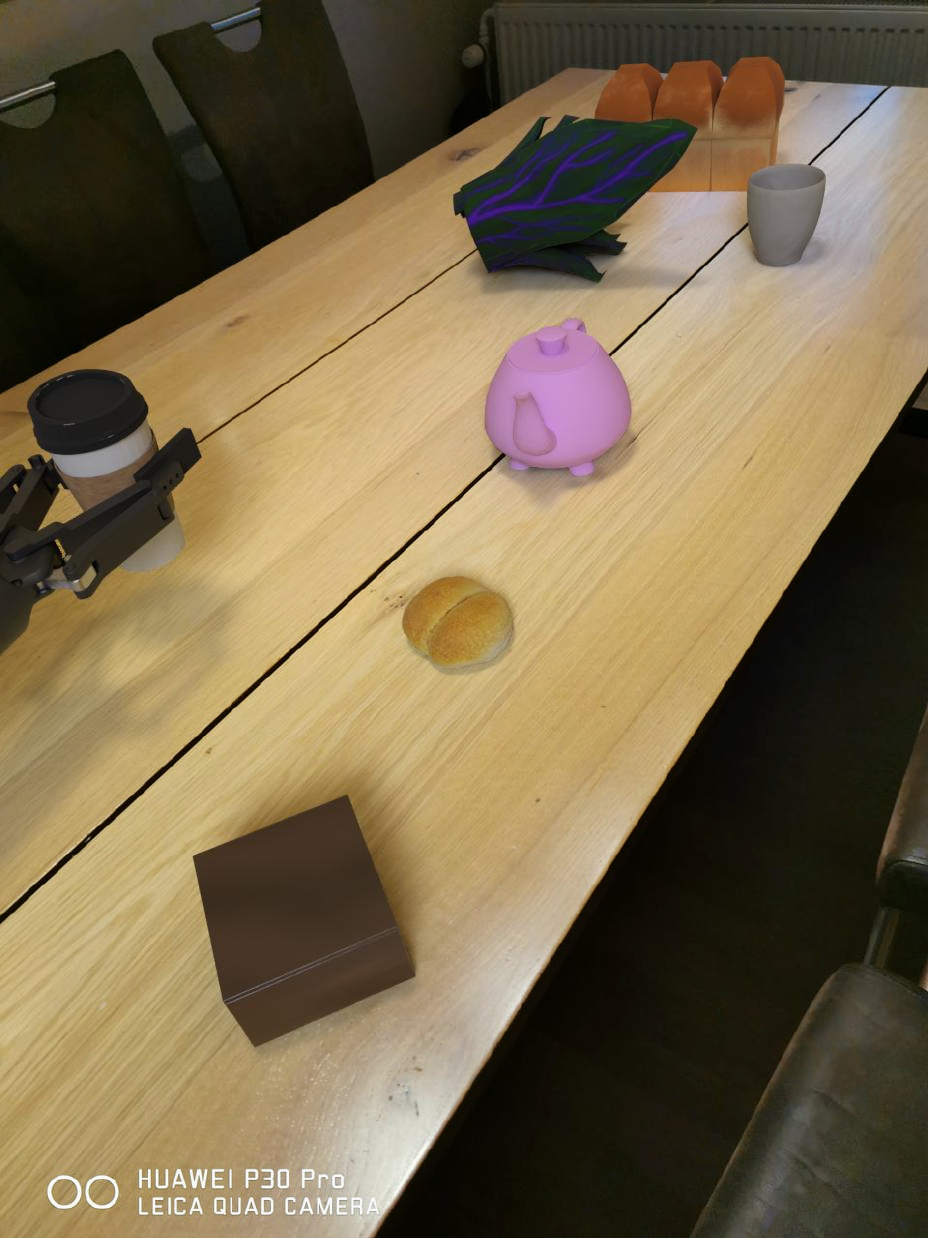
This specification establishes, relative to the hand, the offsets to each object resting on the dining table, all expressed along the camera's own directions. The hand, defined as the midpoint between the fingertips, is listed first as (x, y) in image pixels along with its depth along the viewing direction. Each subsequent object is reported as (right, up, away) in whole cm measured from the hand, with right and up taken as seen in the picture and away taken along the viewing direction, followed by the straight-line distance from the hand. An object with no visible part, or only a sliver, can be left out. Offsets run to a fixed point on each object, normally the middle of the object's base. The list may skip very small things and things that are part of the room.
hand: (151, 436), depth 77 cm
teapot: (+35, +2, +17) cm, 39 cm away
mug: (+65, +31, +43) cm, 84 cm away
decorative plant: (+40, +32, +48) cm, 70 cm away
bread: (+59, +51, +65) cm, 101 cm away
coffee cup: (-1, -9, +3) cm, 10 cm away
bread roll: (+25, -16, +1) cm, 30 cm away
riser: (+16, -35, -18) cm, 42 cm away
